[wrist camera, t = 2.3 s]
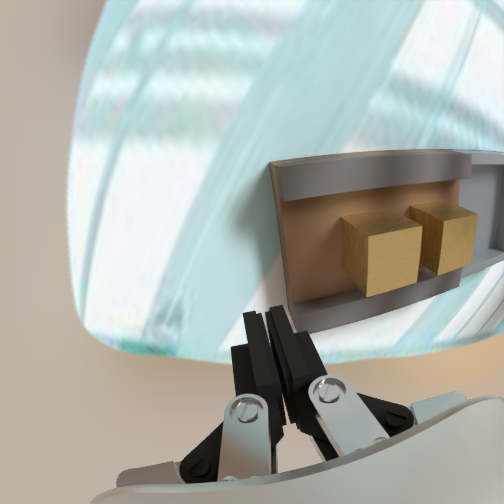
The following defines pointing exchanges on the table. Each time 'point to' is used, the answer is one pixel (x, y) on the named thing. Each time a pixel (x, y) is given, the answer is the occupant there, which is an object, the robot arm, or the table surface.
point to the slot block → (347, 203)
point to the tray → (485, 207)
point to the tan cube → (445, 235)
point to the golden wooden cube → (380, 250)
